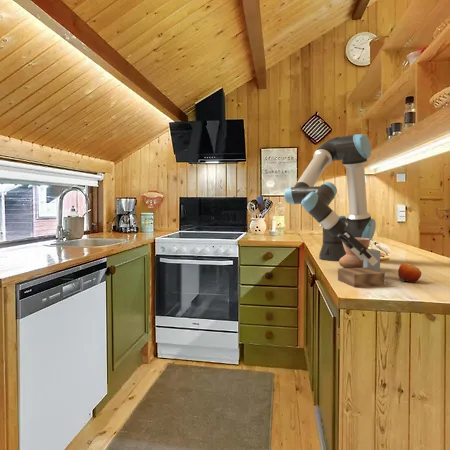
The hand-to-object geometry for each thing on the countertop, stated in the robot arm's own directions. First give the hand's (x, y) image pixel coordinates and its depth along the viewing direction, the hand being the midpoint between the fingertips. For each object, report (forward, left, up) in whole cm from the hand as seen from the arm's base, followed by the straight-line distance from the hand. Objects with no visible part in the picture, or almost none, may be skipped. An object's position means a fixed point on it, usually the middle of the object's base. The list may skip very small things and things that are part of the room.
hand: (369, 260), depth 147 cm
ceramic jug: (-3, -17, -7) cm, 19 cm away
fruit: (-11, +9, -7) cm, 16 cm away
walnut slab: (+9, +10, -7) cm, 15 cm away
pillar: (-1, 0, -7) cm, 7 cm away
